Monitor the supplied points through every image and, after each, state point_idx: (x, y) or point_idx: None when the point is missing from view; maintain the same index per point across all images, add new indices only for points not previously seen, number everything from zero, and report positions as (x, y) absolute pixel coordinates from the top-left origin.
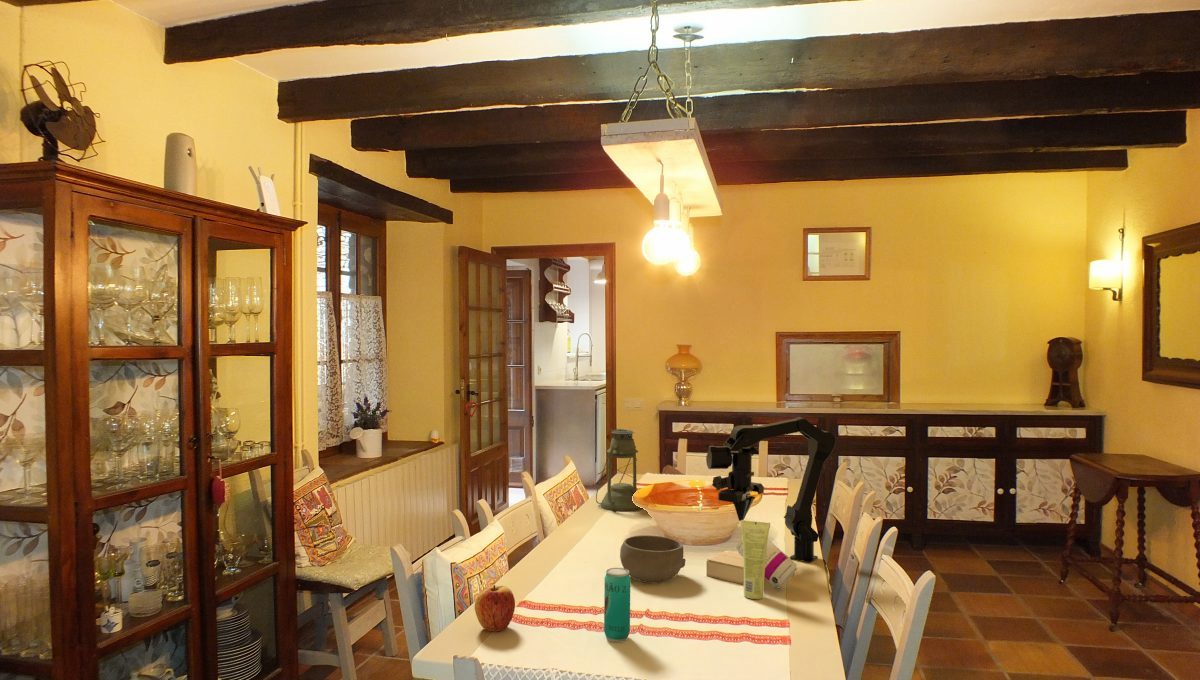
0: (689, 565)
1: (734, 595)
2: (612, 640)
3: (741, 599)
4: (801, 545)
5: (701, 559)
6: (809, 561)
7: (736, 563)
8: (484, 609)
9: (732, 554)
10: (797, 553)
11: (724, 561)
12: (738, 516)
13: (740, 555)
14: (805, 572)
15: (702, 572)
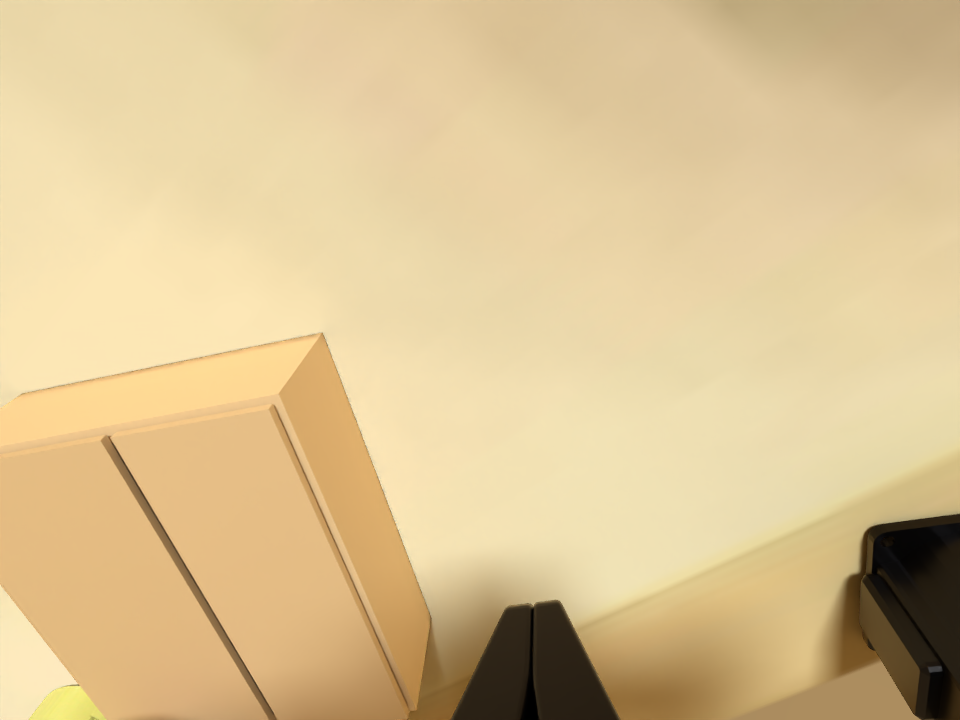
0: (18, 115)
1: (11, 661)
2: None
3: (16, 700)
4: (932, 708)
5: (240, 43)
6: (868, 645)
7: (96, 649)
8: None
9: (220, 515)
10: (882, 624)
11: (35, 579)
12: (478, 684)
13: (265, 566)
14: (647, 694)
15: (35, 324)
